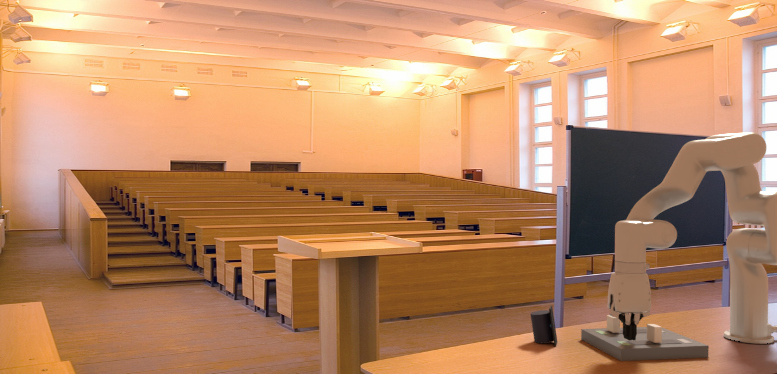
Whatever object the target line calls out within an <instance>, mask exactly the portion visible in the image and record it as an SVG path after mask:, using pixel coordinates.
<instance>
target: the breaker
mask: <svg viewBox="0 0 777 374" xmlns="http://www.w3.org/2000/svg"><path fill="white" fill-rule="evenodd" d="M606 328H607V330H609V331H611V332H620V328H621V321H620V320H619V319H618V318H616V317H612V316H610V315H609V314H607V315H606Z"/></svg>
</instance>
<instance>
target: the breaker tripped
mask: <svg viewBox="0 0 777 374" xmlns="http://www.w3.org/2000/svg"><path fill="white" fill-rule="evenodd" d="M646 327H647V340H650V341H652V342H654V343H660V342H662V328H663V327H662V326H660V325H659V324H655V323H647V324H646Z"/></svg>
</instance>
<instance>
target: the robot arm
mask: <svg viewBox="0 0 777 374" xmlns="http://www.w3.org/2000/svg"><path fill="white" fill-rule="evenodd" d="M766 153H767V143H766V141H765V138H764V137H763V136H762V135H761V134H759V133H757V132H753V131H752V132H737V133H722V134H713V135H710V136H708V137H706V138H705V139H697V140H696V139H695V140H691V141H688V142H686V143H685V144H684V145H682V146H681V149H680V150H679V152H678V154H677V155H676V157H675V158H674V160H673V163H672V165H671V166H670V168H669V169H668V172H667V173H666V174H665V176H664V178H663V180H662V182H661V183H660V184H658V185H657V186H656V187H653V188H652V189H651V190H650V191H649V192H647V193H646V194H644V195H643V196H642V197H641V198H640V199H639V200H638V201H637V202H636V203H635V204H634V205H633V207H632V208H631V209H630V212H629V213H628V216H627V217H626V218H625V220H619V221H617V222H616V223H615V225H614V272H611V273H610V274H611V275H610V278H609V284H608V289H607V290H608V291H607V308H608V310H609V314H608V315H610V316H612V317H616V318H618V319H619V320H620V323H622V328H623V336H624V338H625V339H627V340H636V335H637V327H638V325H639V324H640V321H641V320H643V318H647V317H650V316H651V312H650V311H651V309H652V291H651V284H650V279H649V275H648V273H647V270H649V269H650V268H651V265H650V263H647V258H646V257H647V252H646V251H647V248H650V249H658V250H659V249H660V250H662V249H663V250H664V249H668V248H669V247H672V246H673V245H674V244H675V242H676V240H677V238H678V231H677V228H676V227H675V226H674V225H673V224H672V223H671V222H669V221H667V220H661V219H655V218H656V217H657V216H659V214H660V213H661V214H662V212H664V211H666V210H668V209H670V208H672V207H675V206H679V205H681V204H683V203H686V202H688V201H689V200H691V199H692V198H693V197H694V195H695V193H696V192H697V190H698V188H699V186H700V184H701V182H702V181H703V179H704V177H705V176H706V173H707V172H712V171H713V172H714V171H715V172H716V171H717V172H718V171H720V172H721V174H722V175H723V178H724V183H725V190H726V198H727V206H728V207H727V209H728V214H729V217H730V219H731V220H732V221H733V222H734V223H736V224H741V225H749V226H763V228H764V229H762V228H761V229H760V228H751V227H750V228H749V227H747V228H746V227H744V228H743V227H742V228H737V229H735V230H733V231H732V232H730V233H729V235H728V236H727V239H726V244H725V246H726V252H727V257H728V261H729V275H730V279H729V281H730V282H729V329H728V330H725V331H724V332H723V337H724V338H725V339H728V340H730V339H731V340H730V341H734V340H735V341H734V342H738V341H740V343H746V344H756V345H757V344H759V345H763V344H764V345H765V344H767V343H768V344H772V343H774V342H775V337H774V336H773V335H772V334H774V333H777V325H772V324H771V323H769V276H768V273H767V271H766V269H765V267H764V265H771V266H777V191H763V190H762V187H761V183H760V176H759V172H758V170H757V168H756V166H755V164H757V163H759V162H761V160H762V159H763V158H764V157H765V155H766Z"/></svg>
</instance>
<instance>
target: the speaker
mask: <svg viewBox="0 0 777 374" xmlns="http://www.w3.org/2000/svg"><path fill="white" fill-rule="evenodd" d="M529 315H530V319H531V320H530V321H531V327H532V333H533V341H534V343H536V344H548V343H553V345H554V346H553V347H557V345H558V336H557V335H558V334H557V331H556V323H555V317H554V310H553V305H552V304H551V305H550V306H549V309H546V310H545V309H544V310H542V309H541V310H536V311H531V313H530V314H529Z"/></svg>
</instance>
